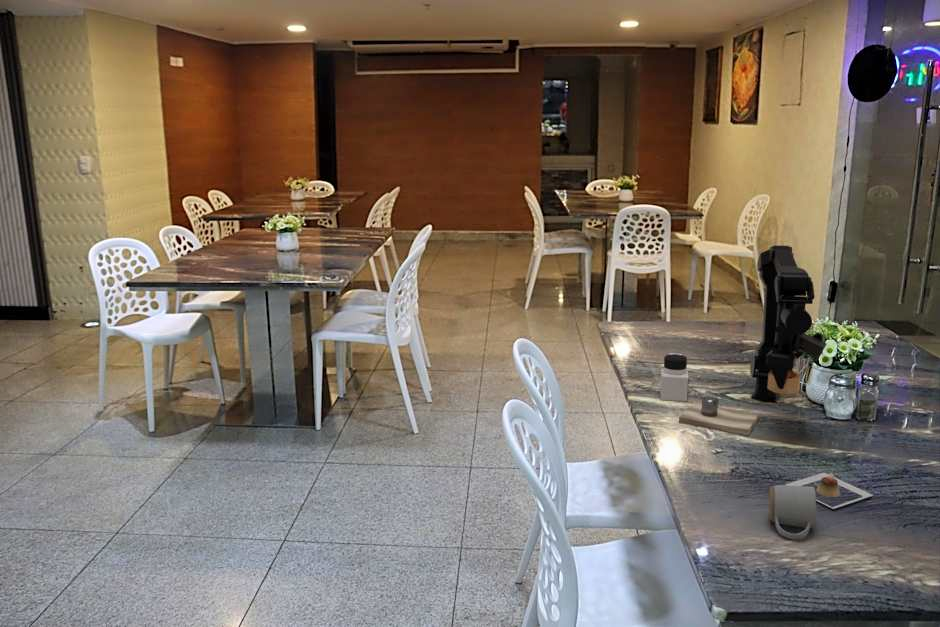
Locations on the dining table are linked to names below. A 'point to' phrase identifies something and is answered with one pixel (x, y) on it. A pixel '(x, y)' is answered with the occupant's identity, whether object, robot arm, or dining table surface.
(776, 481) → the dining table surface
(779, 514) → the ceramic mug
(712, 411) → the piston
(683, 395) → the medicine bottle
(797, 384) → the ring
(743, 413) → the piston stand
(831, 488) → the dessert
